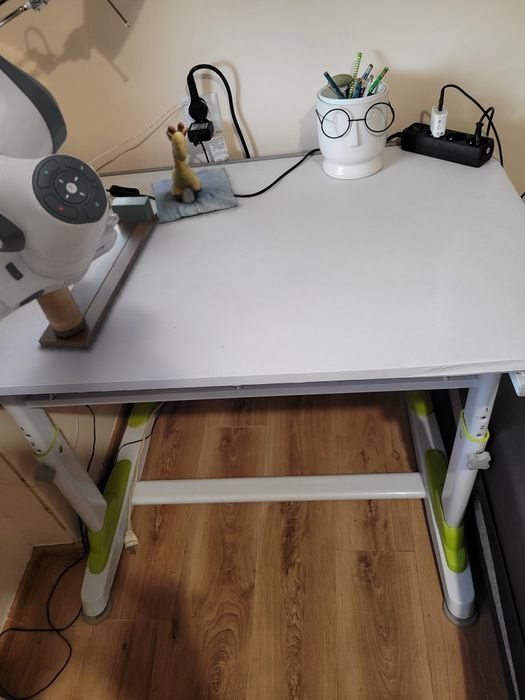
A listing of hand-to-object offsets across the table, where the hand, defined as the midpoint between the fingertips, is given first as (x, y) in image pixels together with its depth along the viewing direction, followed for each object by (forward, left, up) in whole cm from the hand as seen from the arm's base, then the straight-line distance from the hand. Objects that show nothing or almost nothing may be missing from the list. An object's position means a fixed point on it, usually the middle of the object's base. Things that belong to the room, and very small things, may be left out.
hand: (46, 285), depth 74 cm
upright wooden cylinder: (0, -1, -8) cm, 8 cm away
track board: (+8, +12, -9) cm, 18 cm away
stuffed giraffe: (+31, +31, -10) cm, 44 cm away
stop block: (+17, +26, -9) cm, 33 cm away
